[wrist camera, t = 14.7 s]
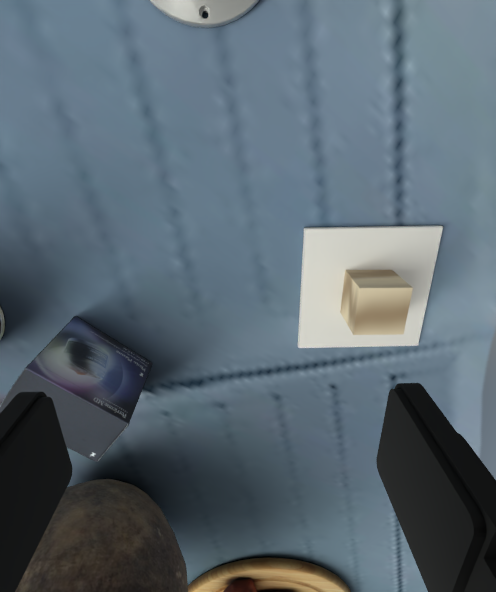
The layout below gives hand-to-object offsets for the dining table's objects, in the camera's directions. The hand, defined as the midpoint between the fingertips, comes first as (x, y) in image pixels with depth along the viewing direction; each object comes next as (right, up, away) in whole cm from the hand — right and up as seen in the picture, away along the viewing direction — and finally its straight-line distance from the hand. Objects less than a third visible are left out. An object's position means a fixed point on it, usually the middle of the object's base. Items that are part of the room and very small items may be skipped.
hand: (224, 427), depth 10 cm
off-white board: (+13, +4, +29) cm, 33 cm away
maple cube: (+13, +4, +29) cm, 32 cm away
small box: (-16, -3, +32) cm, 36 cm away
